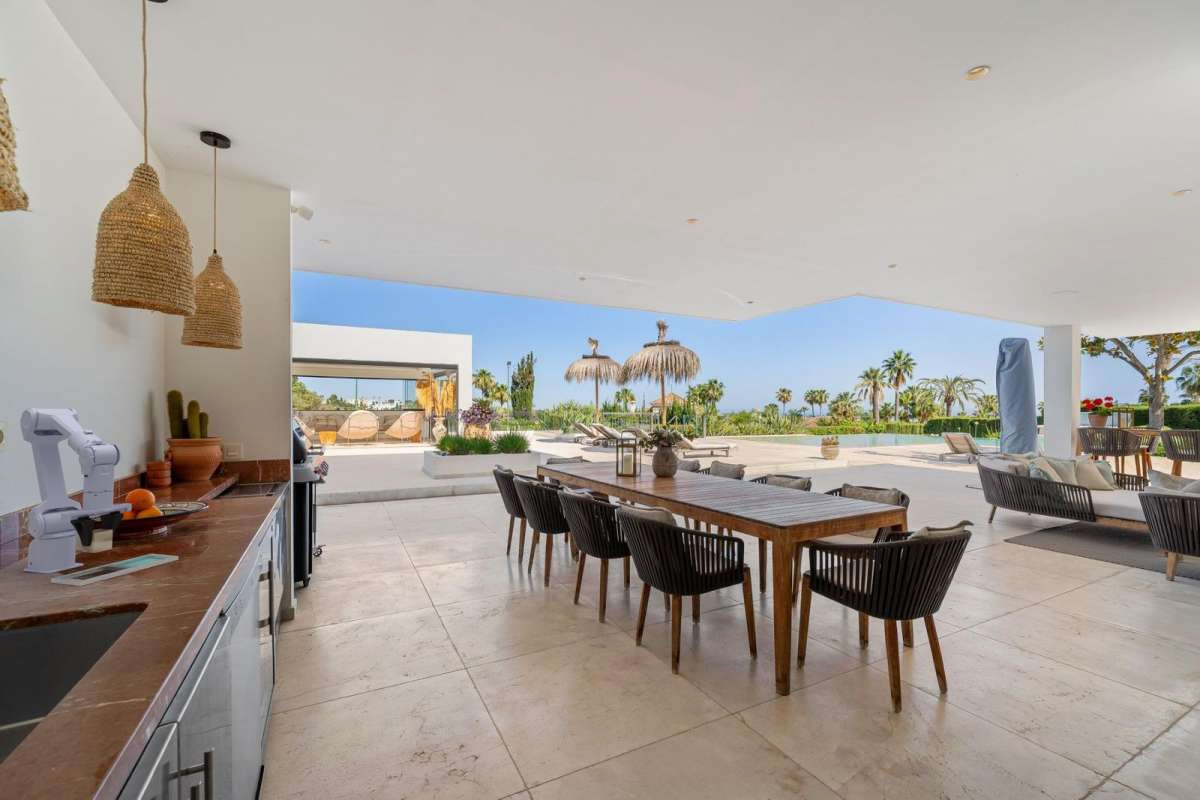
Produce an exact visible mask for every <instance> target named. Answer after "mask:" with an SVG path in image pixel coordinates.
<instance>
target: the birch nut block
mask: <svg viewBox="0 0 1200 800" xmlns="http://www.w3.org/2000/svg"><path fill="white" fill-rule="evenodd" d="M112 532H113V530H109V529H102V528H98V529H93V532H92V543H91V546H82V552H83V553H91V554H95V553H96V554H97V553H100V552H105V551H109V550H112V549H113V538H112Z"/></svg>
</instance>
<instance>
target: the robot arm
mask: <svg viewBox="0 0 1200 800" xmlns="http://www.w3.org/2000/svg"><path fill="white" fill-rule="evenodd" d="M19 420H20V421H19V424H20V430H21V435H22V438H23V440H24V441H25V442H28V443H29V444H31V451H32V455H33V460H34V465H35V472H36V477H37V483H38V489H39V493H40V494H39V495H40V499H41V502H40V503H39V504H37V505H36V506H34V507H33V508H31V510H30V511H29V512H28V522H27V523H28V524H27V529H28V533H29V534H30V536H32V537H33V538H34V539H32V540H31V542H30V543H29V545H28V548H27V549H28V550H27V551H28V554H27V568H24V569H23V572H29V573H36V574H37V573H40V574H53V573H58V572H61V571H65V570H71V569H73V568H78V567H82V566H84V563H81V562H76V548H77V547H76V546H77V545H76V543H77V535H78V536H79V539H80V540H79V541H80V543H81V547H83V546H91V543H92V532H93V530H94V527H95V523H96V521H97V520H96V519H92V517H98V516H99V519H100V521H101V527H102V528H101V529H109V530H113V532H112V539H113V537H114V535H115V531H116V530H117V527H118V526H119V524H120V523H121V521H122V520H123V519H124V516H125V513H124V512H131V511H132V508H133V507H132V504H133V503H127V502H126V503H118V504H114V490H115V489H114V488H115V487H114V486H115V466H117V465H119V463H120V460H121V450H120V448H119V446H118V445H117V444H115V443H106V442H105V441H104V440H103V439H101V438H100V437H99V436H98V435H97V434H96V433H95V432H94V431H93V430H91V429H84V428H83V427H82V426H81V424H80V423H79V414H78V412H77V411H76V410H75V409H74V408H73V407H68V408H42V407H41V408H39V407H38V408H37V407H35V408H34V407H28V408H26V409H24V410H23V412H22V413H21V418H20V419H19ZM66 440H67V446H69V448H71V449H72V451H74V452H75V453H76V454H77V455H78V461H79V465H80V470H81V471H80V472H81V475H83V487H82V488H83V489H82V490H83V491H82V504H81V503H80V502H79V501H77V500H74V499H71V498H70V497H68V491H67V487H66V482H65V477H64V472H63V466H62V460H61V454H60V449H59V443H60V442H62V441H66ZM81 505H82V506H81Z"/></svg>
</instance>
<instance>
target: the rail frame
mask: <svg viewBox="0 0 1200 800" xmlns="http://www.w3.org/2000/svg"><path fill="white" fill-rule="evenodd" d="M175 561H179V556H178V555H172V554H171V555H169V554H160V553H159V554H157V553H149V554H146V555H145V554H144V555H140V556H137V557H133V558H128V559H124V560H121V561H117V562H112V563H108V564H105V565H101V566H96V567H92V568H88V569H85V570H80V571H77V572H72V573H68V574H64V575H60V576H56V577H52V578H50V583H52V584H53V583H54V584H61V585H68V586H69V585H71V586H76V587H77V586H78V587H82V586H85V585H90V584H93V583H96V582H100V581H105V580H108V579H111V578H115V577H119V576H123V575H126V574H131V573H134V572H137V571H142V570H145V569H149V568H151V567H156V566H160V565H161V566H162V565H164V564H168V563H171V562H175ZM103 571H112V572H109V573H106V574H100V575H98V576H94V577H90V578H86V579H77V578H78V577H82V576H87V575H90V574H91V575H92V574H94V573H98V572H103Z"/></svg>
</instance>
